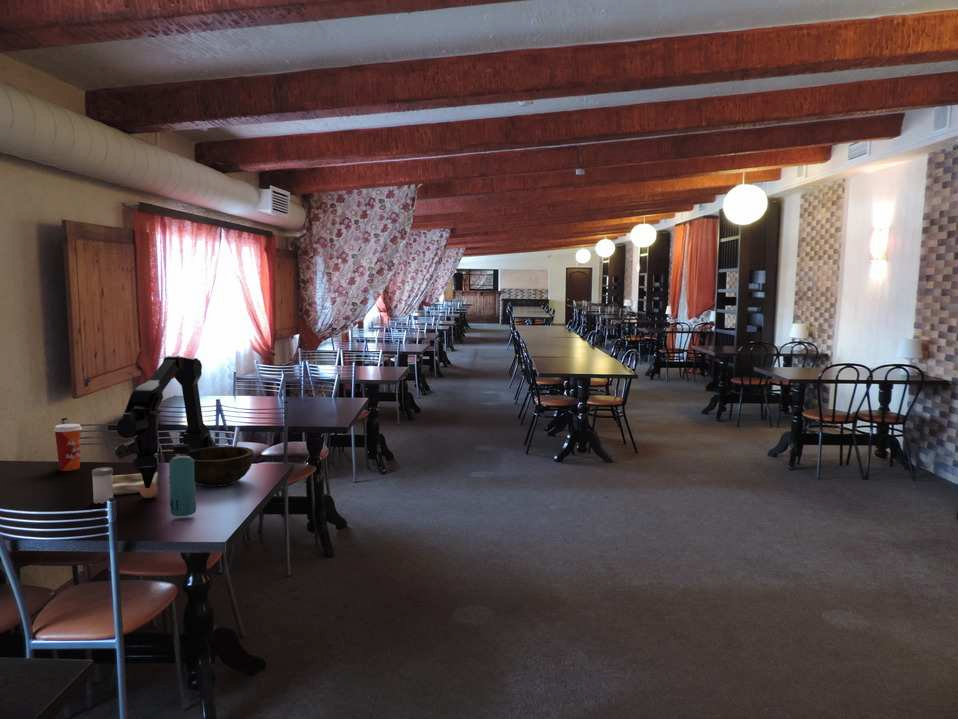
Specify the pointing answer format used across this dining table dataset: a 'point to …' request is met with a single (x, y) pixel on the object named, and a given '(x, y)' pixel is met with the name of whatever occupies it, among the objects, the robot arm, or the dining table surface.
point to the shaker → (102, 484)
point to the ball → (149, 490)
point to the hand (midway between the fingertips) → (148, 484)
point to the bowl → (220, 464)
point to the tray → (129, 483)
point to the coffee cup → (68, 446)
